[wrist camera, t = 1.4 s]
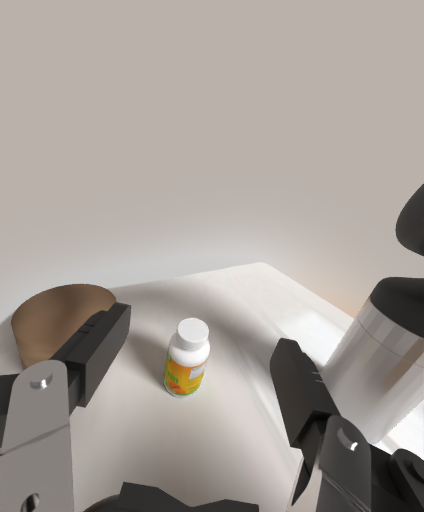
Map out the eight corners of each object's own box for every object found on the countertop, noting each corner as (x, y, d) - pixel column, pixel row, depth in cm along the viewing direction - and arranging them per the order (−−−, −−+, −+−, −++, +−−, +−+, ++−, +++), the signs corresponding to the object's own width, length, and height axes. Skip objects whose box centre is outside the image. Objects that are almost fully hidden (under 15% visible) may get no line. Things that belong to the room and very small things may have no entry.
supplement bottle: (156, 373, 29) (163, 321, 25) (187, 356, 32) (198, 309, 28) (175, 407, 25) (186, 354, 21) (208, 385, 29) (223, 335, 25)
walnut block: (112, 317, 36) (112, 280, 33) (121, 370, 28) (121, 327, 25) (32, 332, 31) (22, 289, 27) (14, 404, 22) (-3, 355, 19)
